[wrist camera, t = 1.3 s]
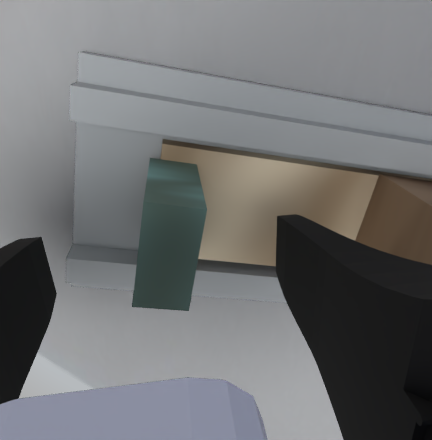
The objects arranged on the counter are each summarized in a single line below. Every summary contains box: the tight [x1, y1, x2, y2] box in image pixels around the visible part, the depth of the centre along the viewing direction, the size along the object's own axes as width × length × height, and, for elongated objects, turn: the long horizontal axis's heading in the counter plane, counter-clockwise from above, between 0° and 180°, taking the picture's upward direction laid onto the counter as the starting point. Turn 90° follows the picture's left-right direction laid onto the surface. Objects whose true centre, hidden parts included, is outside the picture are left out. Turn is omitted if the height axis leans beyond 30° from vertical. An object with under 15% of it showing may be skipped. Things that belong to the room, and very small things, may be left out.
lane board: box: [66, 51, 432, 303], centre depth 17 cm, size 20×10×2 cm, turn 80°
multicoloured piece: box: [132, 139, 432, 311], centre depth 15 cm, size 15×5×5 cm, turn 80°
